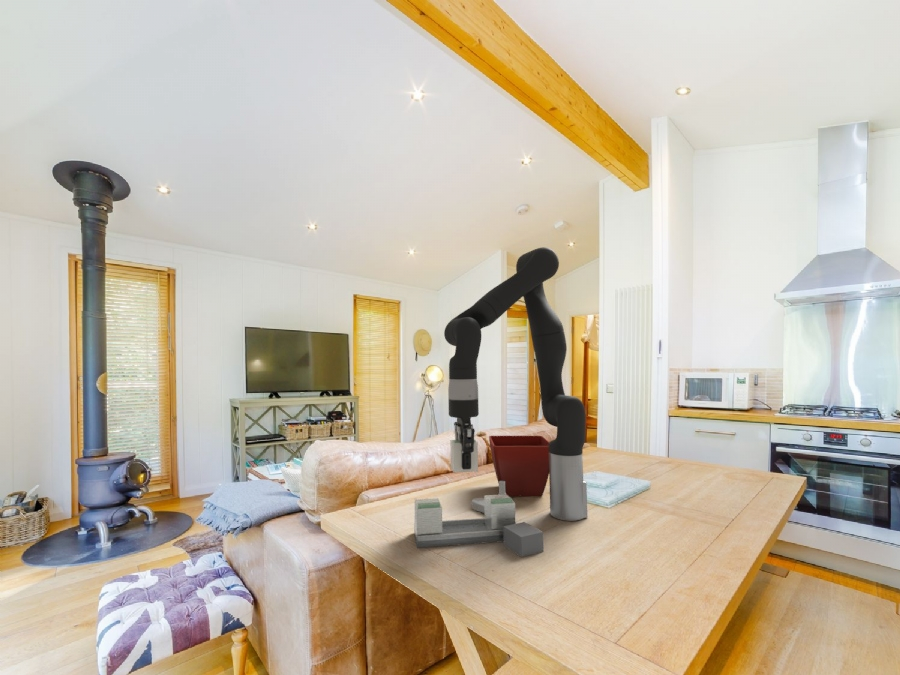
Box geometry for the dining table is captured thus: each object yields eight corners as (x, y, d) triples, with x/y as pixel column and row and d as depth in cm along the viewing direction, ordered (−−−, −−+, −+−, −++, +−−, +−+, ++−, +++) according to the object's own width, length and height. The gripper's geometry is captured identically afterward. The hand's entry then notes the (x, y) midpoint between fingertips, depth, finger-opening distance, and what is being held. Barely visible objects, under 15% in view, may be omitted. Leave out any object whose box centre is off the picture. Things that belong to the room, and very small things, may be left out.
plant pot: (555, 500, 131) (554, 445, 132) (494, 500, 131) (493, 445, 132) (543, 483, 150) (541, 435, 151) (489, 483, 150) (488, 435, 151)
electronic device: (481, 472, 129) (515, 481, 117) (482, 505, 129) (517, 518, 116) (467, 475, 126) (501, 485, 114) (468, 509, 125) (502, 522, 113)
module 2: (524, 541, 101) (524, 521, 102) (543, 552, 95) (542, 531, 95) (503, 546, 99) (503, 526, 99) (521, 558, 92) (521, 537, 93)
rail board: (506, 526, 110) (505, 490, 111) (517, 540, 101) (516, 501, 102) (414, 532, 106) (414, 496, 107) (417, 548, 98) (417, 507, 98)
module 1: (473, 467, 108) (473, 437, 108) (478, 471, 103) (477, 440, 104) (450, 468, 106) (450, 438, 107) (453, 472, 102) (453, 441, 103)
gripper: (484, 399, 100) (486, 472, 98) (471, 395, 114) (472, 459, 113) (453, 400, 98) (454, 474, 97) (444, 395, 112) (445, 460, 111)
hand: (464, 466), depth 105 cm, fingers closed on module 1, 4 cm apart
